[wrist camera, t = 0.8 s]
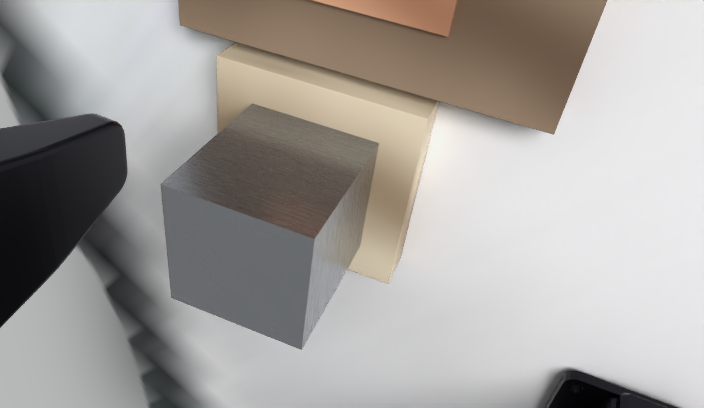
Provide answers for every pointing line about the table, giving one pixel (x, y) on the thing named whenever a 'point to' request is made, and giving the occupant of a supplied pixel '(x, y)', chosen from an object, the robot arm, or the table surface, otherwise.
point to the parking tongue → (347, 116)
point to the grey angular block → (267, 221)
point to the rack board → (426, 46)
